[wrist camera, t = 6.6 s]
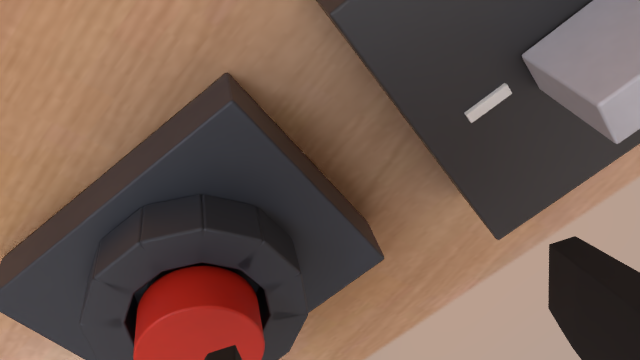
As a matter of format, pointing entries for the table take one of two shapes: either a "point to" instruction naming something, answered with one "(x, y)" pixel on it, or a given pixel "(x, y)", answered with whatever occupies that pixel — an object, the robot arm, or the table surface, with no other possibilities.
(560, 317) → the robot arm
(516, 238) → the table surface
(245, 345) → the power button
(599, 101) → the knob
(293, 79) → the table surface
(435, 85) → the panel
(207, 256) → the switch block
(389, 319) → the table surface
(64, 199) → the table surface
